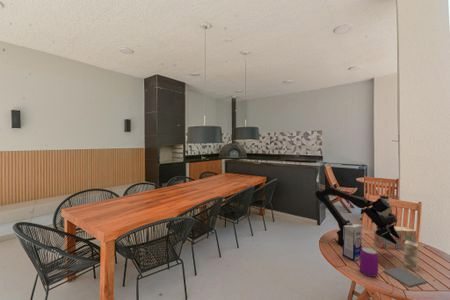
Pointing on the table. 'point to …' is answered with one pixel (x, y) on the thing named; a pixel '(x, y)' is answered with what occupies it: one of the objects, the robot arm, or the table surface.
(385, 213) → the thermos bottle
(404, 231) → the stack of blocks
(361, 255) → the beverage can
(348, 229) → the milk carton
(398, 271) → the charcoal board
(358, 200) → the robot arm
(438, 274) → the table surface
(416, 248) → the birch block
